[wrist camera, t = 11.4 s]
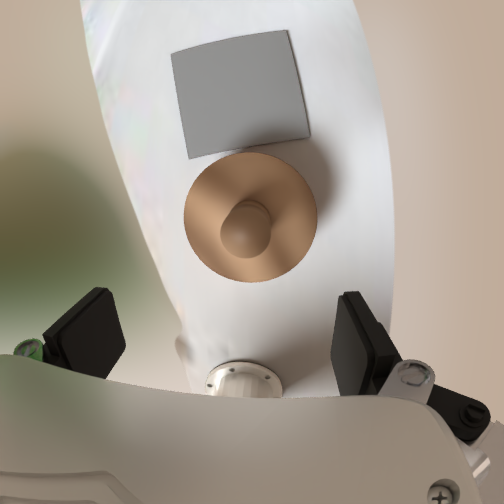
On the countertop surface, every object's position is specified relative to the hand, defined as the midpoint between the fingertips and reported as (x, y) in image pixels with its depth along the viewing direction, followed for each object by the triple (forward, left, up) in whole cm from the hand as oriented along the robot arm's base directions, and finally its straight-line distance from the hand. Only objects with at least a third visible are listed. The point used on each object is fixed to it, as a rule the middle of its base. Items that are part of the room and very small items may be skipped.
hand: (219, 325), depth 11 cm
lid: (0, 0, -19) cm, 19 cm away
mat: (+9, +11, -24) cm, 28 cm away
